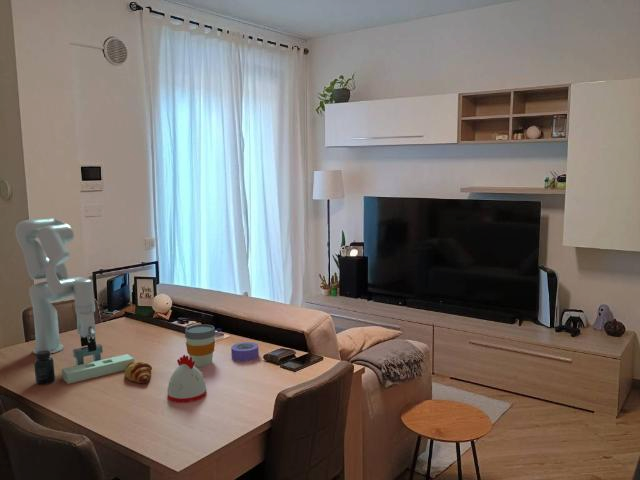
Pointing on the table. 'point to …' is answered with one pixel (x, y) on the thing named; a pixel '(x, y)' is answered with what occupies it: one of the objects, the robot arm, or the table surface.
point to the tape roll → (245, 351)
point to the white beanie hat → (186, 382)
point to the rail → (96, 368)
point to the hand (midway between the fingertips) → (88, 348)
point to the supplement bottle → (44, 368)
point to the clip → (87, 354)
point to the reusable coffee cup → (200, 344)
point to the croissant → (138, 372)
